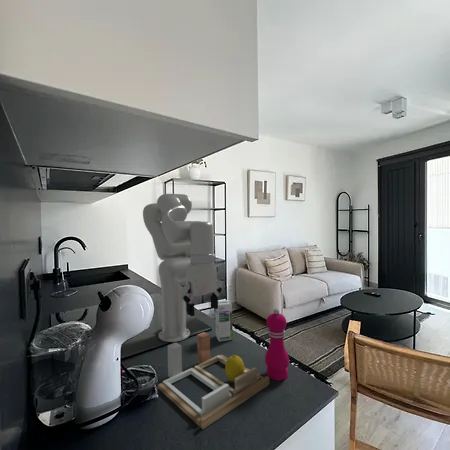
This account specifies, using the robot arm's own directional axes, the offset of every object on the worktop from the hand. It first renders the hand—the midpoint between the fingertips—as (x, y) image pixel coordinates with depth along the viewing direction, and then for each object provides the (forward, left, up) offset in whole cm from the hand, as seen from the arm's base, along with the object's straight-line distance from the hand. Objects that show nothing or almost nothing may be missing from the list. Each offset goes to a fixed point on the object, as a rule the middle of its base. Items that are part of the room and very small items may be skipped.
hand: (202, 311), depth 87 cm
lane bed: (+11, -5, -17) cm, 21 cm away
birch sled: (+9, 0, -17) cm, 19 cm away
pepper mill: (+20, +12, -17) cm, 29 cm away
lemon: (+14, 0, -17) cm, 23 cm away
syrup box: (-10, +18, -17) cm, 27 cm away
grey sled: (+9, -11, -17) cm, 22 cm away
